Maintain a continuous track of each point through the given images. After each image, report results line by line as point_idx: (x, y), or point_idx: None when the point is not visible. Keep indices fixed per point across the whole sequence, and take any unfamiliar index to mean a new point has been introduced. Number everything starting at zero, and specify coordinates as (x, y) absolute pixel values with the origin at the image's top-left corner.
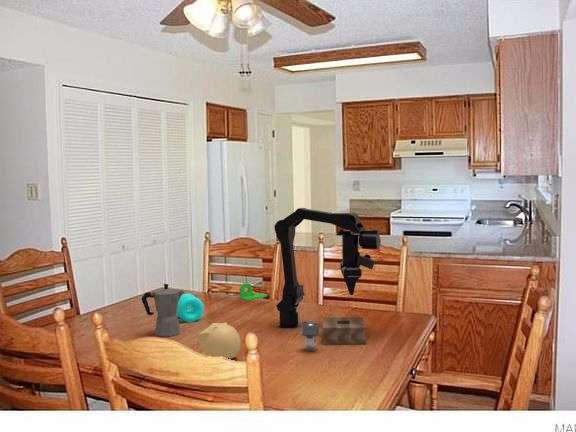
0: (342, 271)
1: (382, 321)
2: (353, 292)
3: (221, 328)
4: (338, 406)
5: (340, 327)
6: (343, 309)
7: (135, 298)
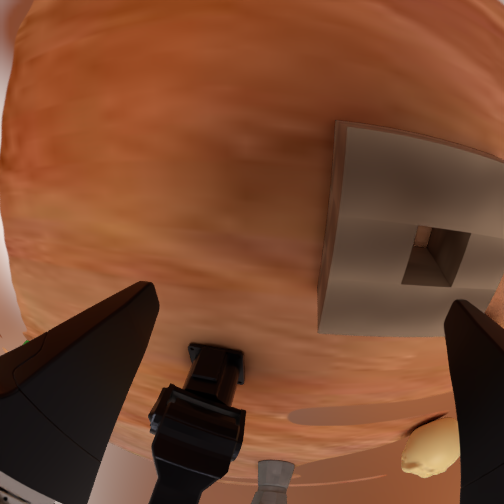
0: (79, 500)
1: (126, 31)
2: (482, 315)
3: (450, 465)
4: None
5: (498, 280)
6: (16, 195)
7: (112, 443)
